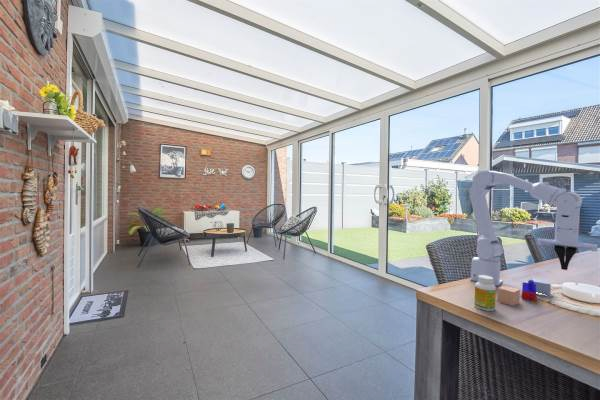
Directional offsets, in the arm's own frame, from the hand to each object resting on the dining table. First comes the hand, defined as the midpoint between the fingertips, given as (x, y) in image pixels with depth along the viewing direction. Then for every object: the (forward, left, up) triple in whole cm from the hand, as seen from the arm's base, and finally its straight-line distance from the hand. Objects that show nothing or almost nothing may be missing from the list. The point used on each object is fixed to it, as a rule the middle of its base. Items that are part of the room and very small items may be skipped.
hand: (564, 269), depth 95 cm
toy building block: (-8, -7, -11) cm, 15 cm away
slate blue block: (-6, +2, -10) cm, 12 cm away
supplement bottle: (-16, -27, -11) cm, 33 cm away
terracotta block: (-12, -16, -10) cm, 23 cm away
